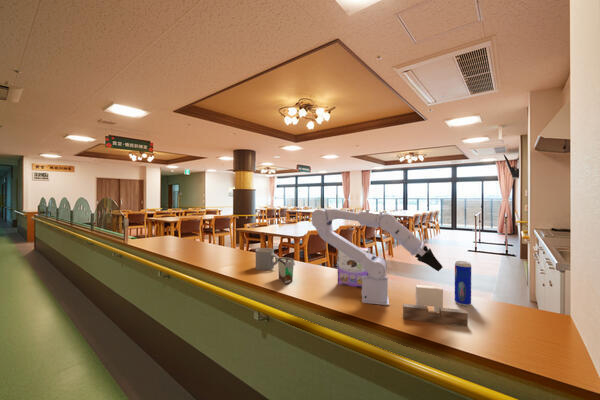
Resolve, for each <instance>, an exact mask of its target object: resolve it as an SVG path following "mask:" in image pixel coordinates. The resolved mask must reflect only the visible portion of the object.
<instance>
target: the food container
mask: <svg viewBox="0 0 600 400" xmlns="http://www.w3.org/2000/svg"><path fill="white" fill-rule="evenodd" d="M277 264H278V280H279V281H281V282H282V283H283V284H284V285H290V284H291V283H292V282H293V279H294V278H293V277H294V266H295V265H296V262H295V260H294V258H292V257H286V256H285V257H284V256H283V257H279V256H278V263H277Z"/></svg>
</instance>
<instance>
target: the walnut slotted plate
mask: <svg viewBox="0 0 600 400" xmlns="http://www.w3.org/2000/svg"><path fill="white" fill-rule="evenodd" d="M428 307H429V306H425V305H424V306H422V305H416V304H411V303H402V318H403V320H409V321H410V320H411V321H417V320H418V321H419V322H427V323H433V324H434V323H435V324H442V323H443V324H444V325H452V326H460V327H468V326H469V325H468V324H469V322H468V321H469V318H468V317H469V316H468V315H469V314H468V312H467V310H465V309H461V308H460V309H458V308H449V307H443V308H441V307H439V313H436V312H429V308H428Z"/></svg>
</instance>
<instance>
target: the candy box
mask: <svg viewBox="0 0 600 400" xmlns="http://www.w3.org/2000/svg"><path fill="white" fill-rule="evenodd" d="M359 248H360V249H362V250H364V251H365V252H367V253H370V254H371V248H370V247H368V248H365V247H359ZM336 250H337V284H338V285H342V286H349V287H355V288H361V289H362V277H363V276H368V272H367V271H366V270H364V269H363V268H362V266H361V265H360V264H359V263H358V262H356V261H355V260H353V259H352V258H350V257H349V256H347V255H346V254H344V253H343V252H341V251H340V250H338V249H337V248H336Z"/></svg>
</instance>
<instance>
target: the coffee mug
mask: <svg viewBox="0 0 600 400" xmlns="http://www.w3.org/2000/svg"><path fill="white" fill-rule="evenodd" d="M278 257H279V256H278V255H277V254H276V253H275V250H274V248H271V247H269V248H268V247H262V248H256V249H255V269H256V270H257V271H270V270H273V269H274V268H275V266H277V264H278Z"/></svg>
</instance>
